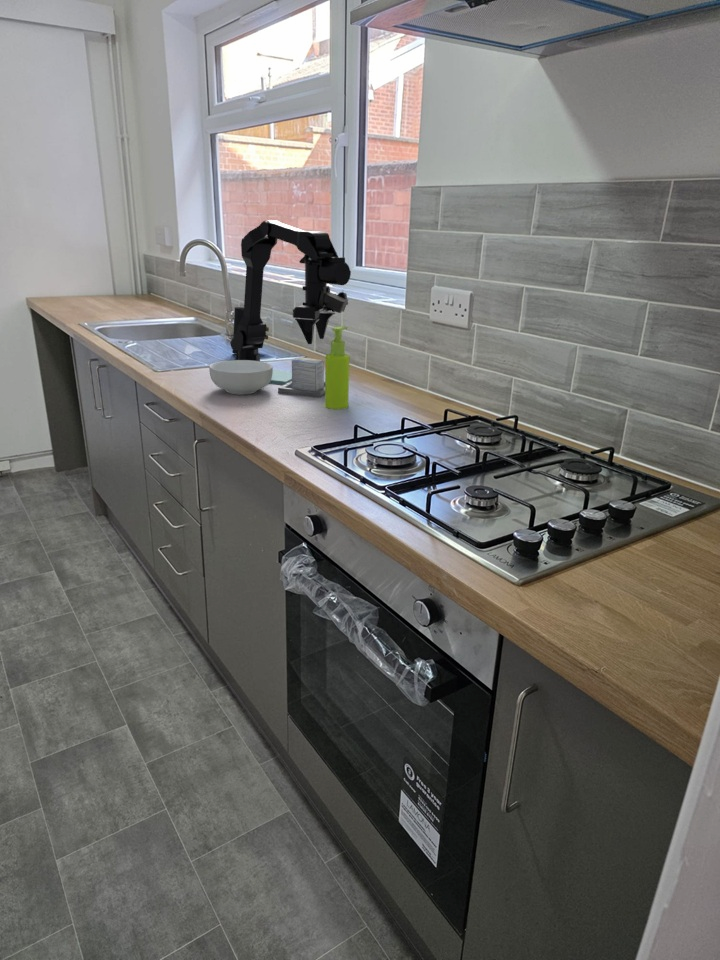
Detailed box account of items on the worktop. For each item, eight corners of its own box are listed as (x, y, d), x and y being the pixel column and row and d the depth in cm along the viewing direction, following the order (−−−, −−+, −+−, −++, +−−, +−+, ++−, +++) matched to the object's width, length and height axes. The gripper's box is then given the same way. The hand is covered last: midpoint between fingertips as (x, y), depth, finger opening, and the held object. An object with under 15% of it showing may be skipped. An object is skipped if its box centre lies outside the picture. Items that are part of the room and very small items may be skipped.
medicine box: (324, 391, 180) (324, 360, 177) (316, 394, 176) (316, 362, 173) (299, 387, 183) (299, 356, 180) (291, 390, 179) (291, 359, 176)
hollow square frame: (278, 393, 176) (278, 387, 175) (296, 383, 186) (296, 378, 186) (320, 398, 172) (320, 392, 172) (336, 388, 183) (336, 382, 182)
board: (248, 380, 188) (247, 377, 187) (266, 372, 198) (266, 368, 198) (285, 385, 184) (285, 381, 184) (302, 376, 195) (302, 373, 194)
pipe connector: (263, 352, 228) (266, 309, 223) (267, 355, 224) (270, 311, 219) (230, 351, 224) (233, 306, 218) (234, 354, 219) (236, 308, 214)
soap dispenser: (352, 404, 168) (355, 326, 160) (343, 411, 162) (345, 330, 154) (331, 402, 169) (332, 324, 162) (321, 408, 163) (322, 328, 156)
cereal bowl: (285, 392, 177) (285, 366, 175) (236, 402, 166) (235, 375, 163) (247, 380, 188) (246, 356, 185) (198, 390, 176) (196, 364, 174)
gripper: (332, 286, 162) (332, 349, 168) (355, 281, 179) (354, 338, 184) (291, 284, 165) (292, 346, 171) (317, 279, 182) (317, 335, 187)
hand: (315, 341), depth 178 cm, fingers open, 9 cm apart
